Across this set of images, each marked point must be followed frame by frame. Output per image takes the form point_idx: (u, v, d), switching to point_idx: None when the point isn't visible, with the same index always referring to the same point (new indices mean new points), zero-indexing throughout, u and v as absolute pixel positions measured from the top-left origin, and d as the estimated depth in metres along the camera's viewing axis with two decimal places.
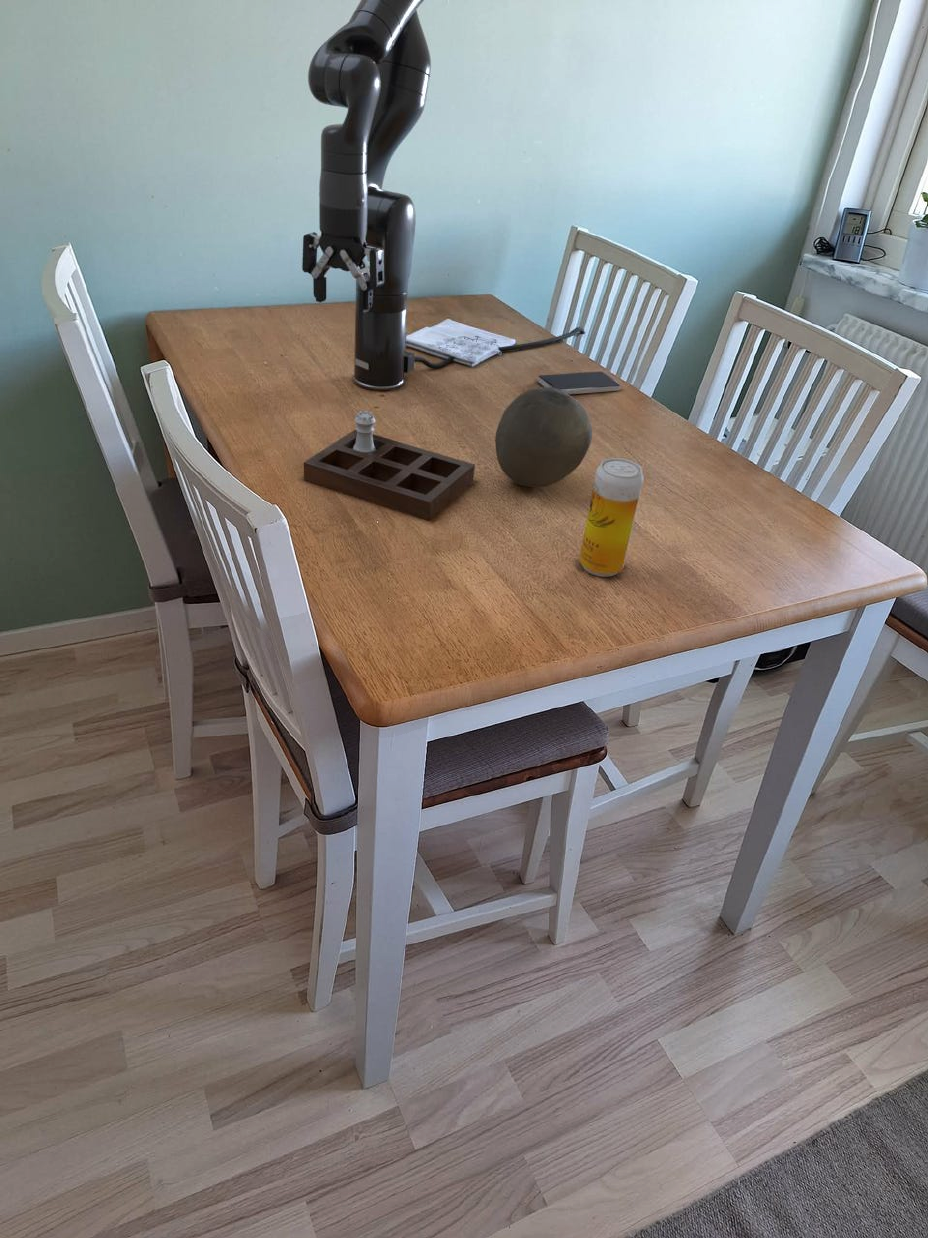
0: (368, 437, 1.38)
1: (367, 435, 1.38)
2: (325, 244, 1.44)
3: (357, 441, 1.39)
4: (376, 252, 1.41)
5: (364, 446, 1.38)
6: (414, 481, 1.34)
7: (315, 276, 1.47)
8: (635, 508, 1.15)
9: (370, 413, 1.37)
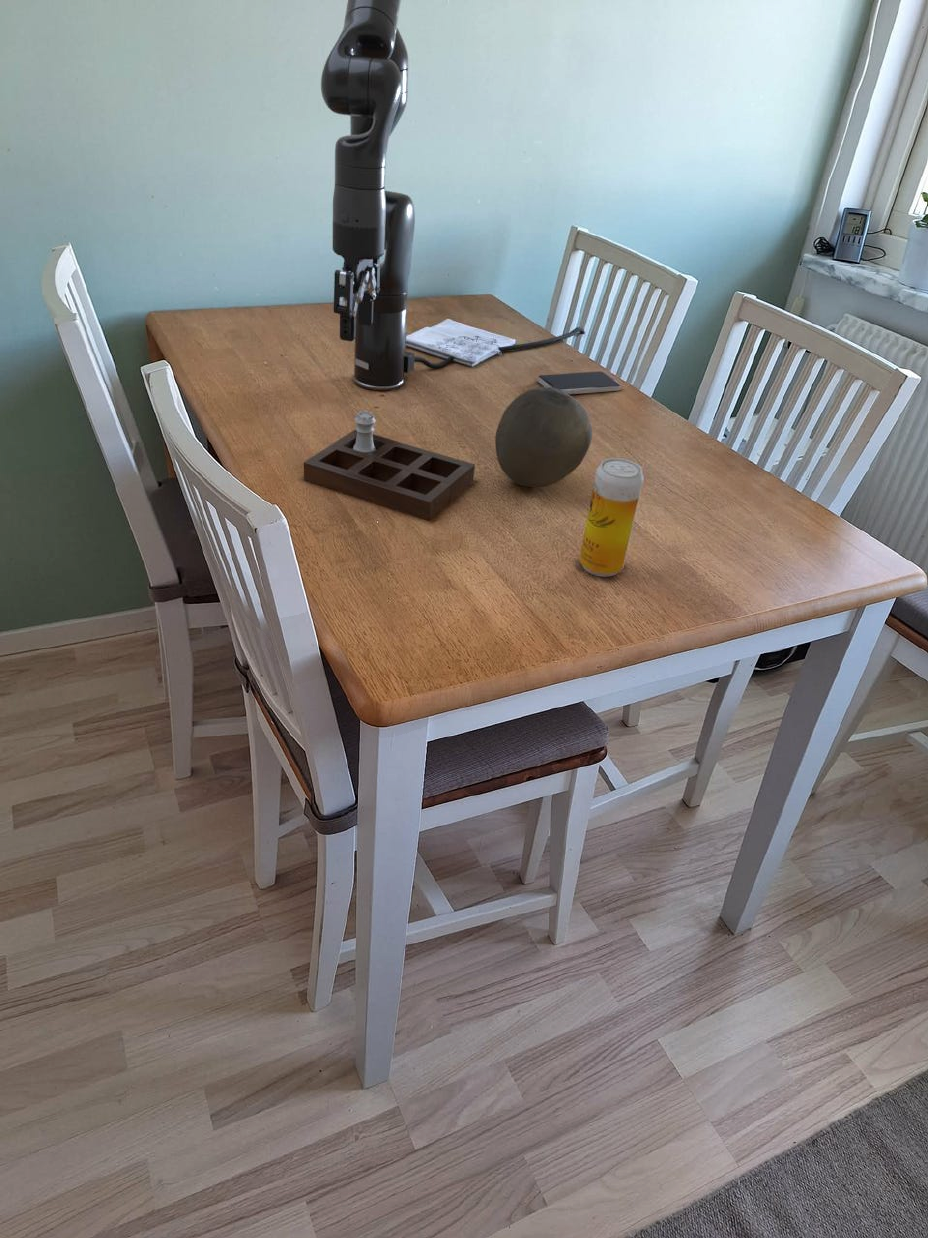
0: (368, 437, 1.38)
1: (368, 435, 1.38)
2: None
3: (357, 441, 1.39)
4: (336, 273, 1.26)
5: (364, 446, 1.38)
6: (414, 481, 1.34)
7: None
8: (635, 508, 1.15)
9: (370, 413, 1.37)
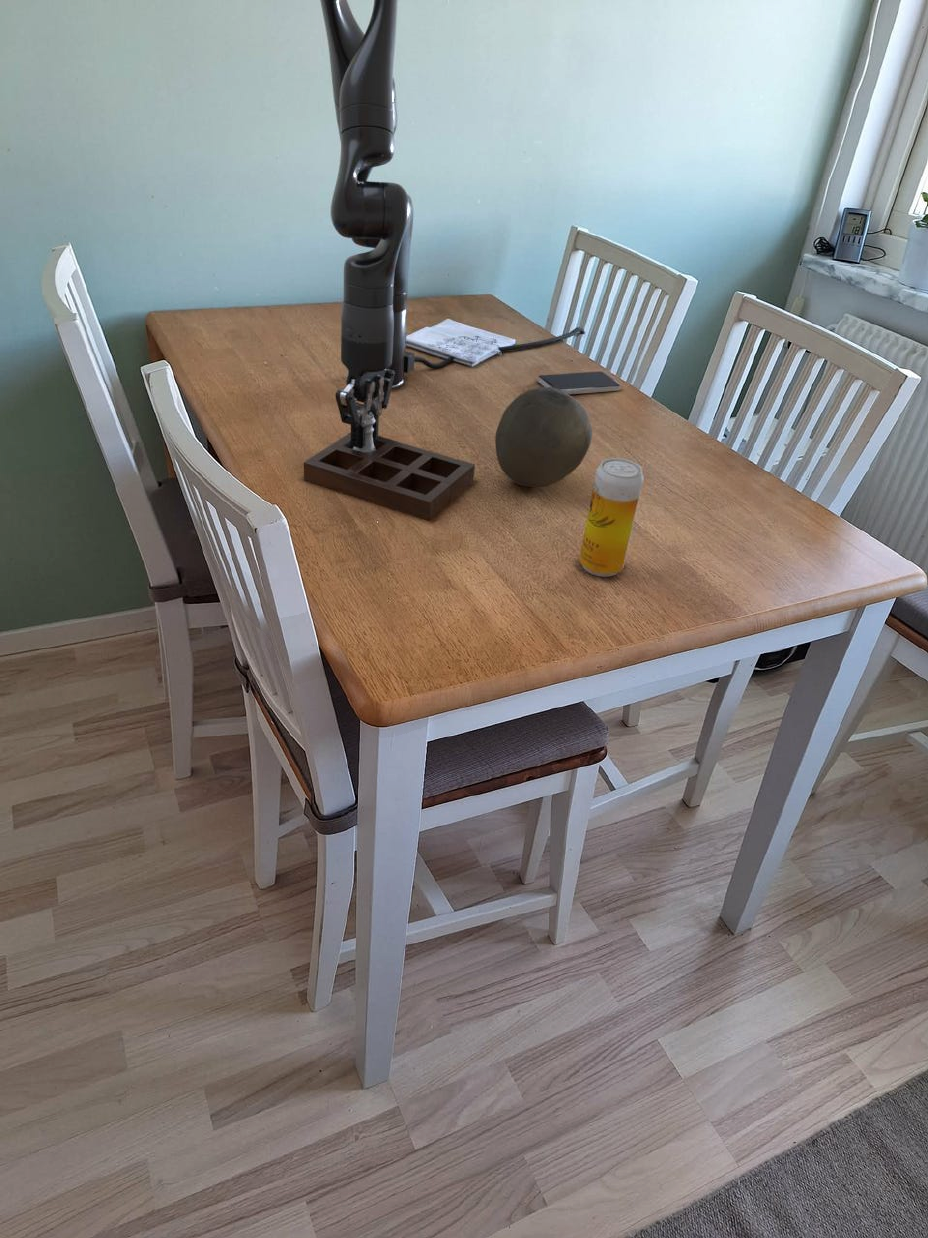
0: (368, 437, 1.38)
1: (367, 435, 1.38)
2: None
3: None
4: (336, 396, 1.29)
5: (364, 446, 1.38)
6: (414, 481, 1.34)
7: None
8: (635, 508, 1.15)
9: (370, 413, 1.37)
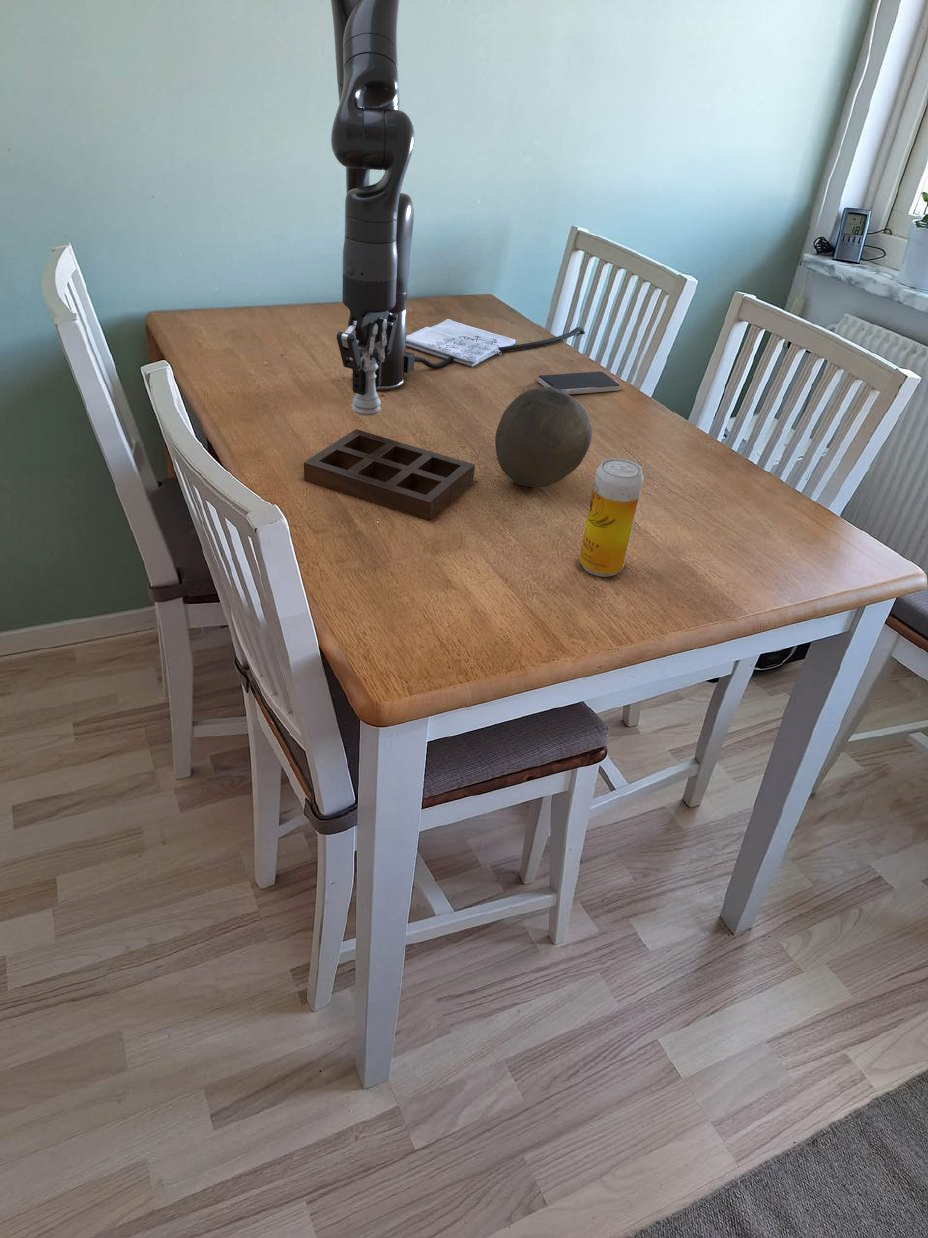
0: (371, 384, 1.33)
1: (370, 382, 1.33)
2: None
3: None
4: (338, 337, 1.24)
5: None
6: (414, 481, 1.34)
7: None
8: (635, 508, 1.15)
9: (373, 359, 1.32)
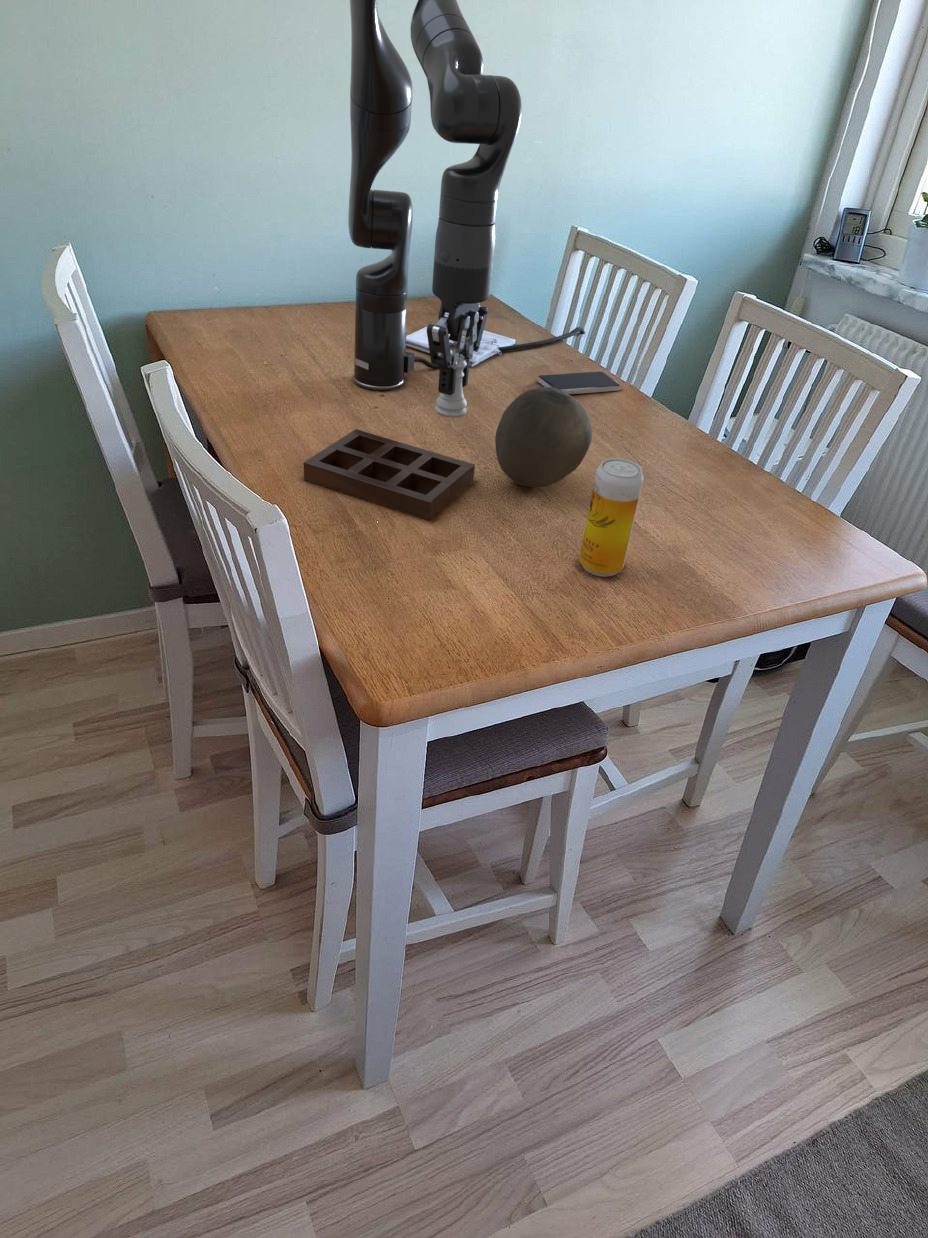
0: (458, 383, 1.21)
1: (457, 381, 1.21)
2: None
3: None
4: (428, 330, 1.13)
5: None
6: (414, 481, 1.34)
7: None
8: (635, 508, 1.15)
9: (461, 355, 1.21)
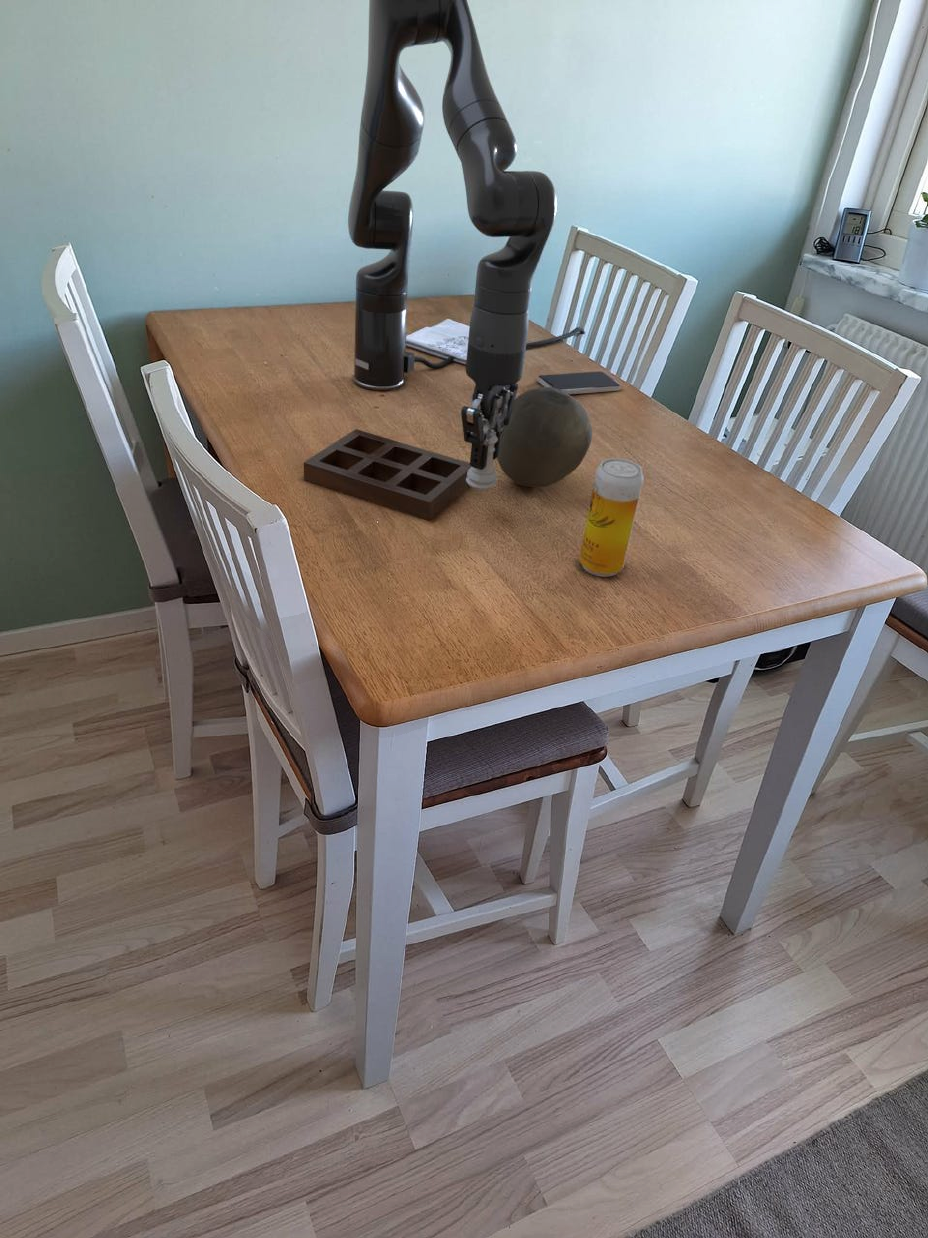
0: (489, 457, 1.24)
1: (489, 455, 1.24)
2: None
3: None
4: (462, 412, 1.15)
5: None
6: (414, 481, 1.34)
7: None
8: (635, 508, 1.15)
9: (492, 431, 1.23)
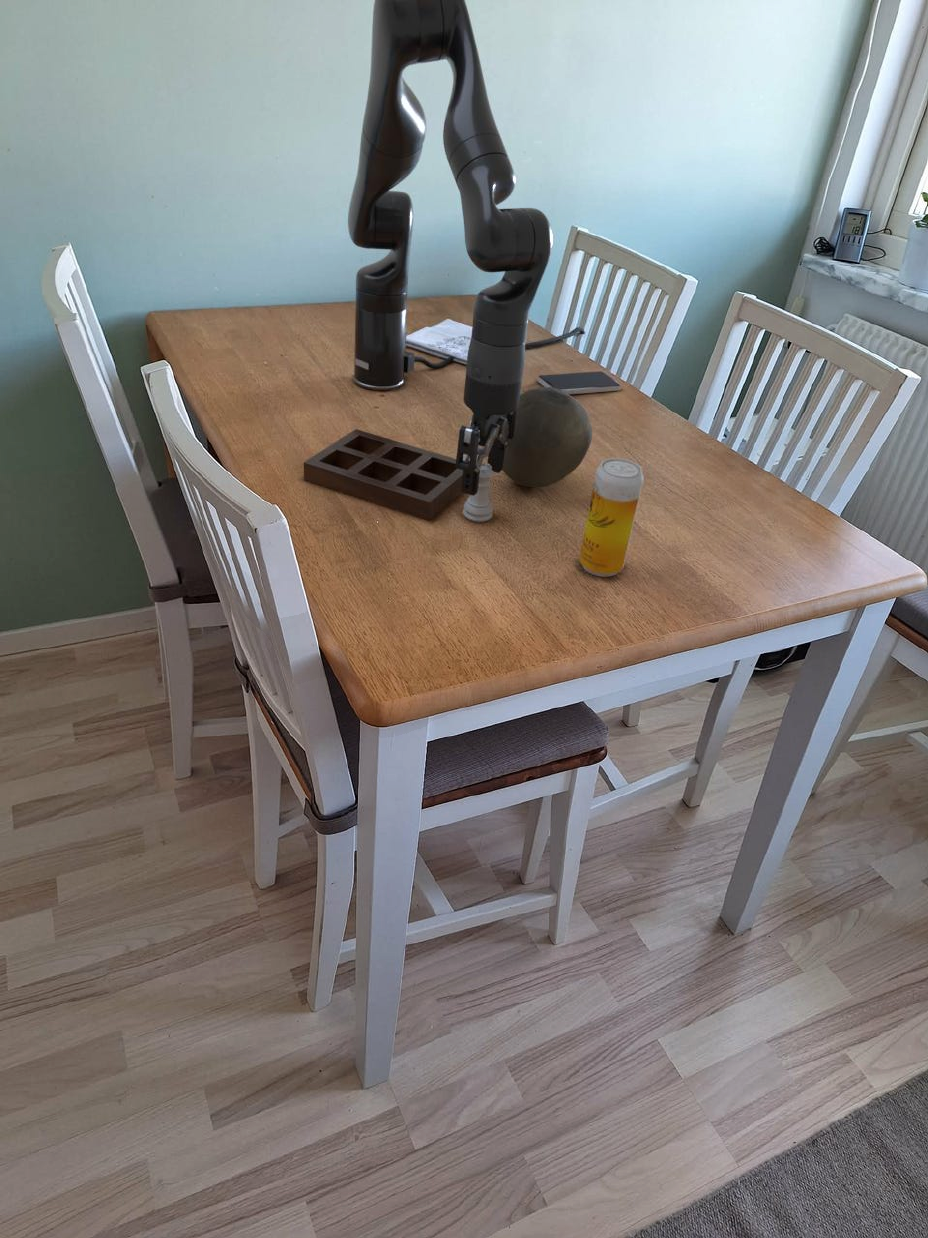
0: (485, 490, 1.27)
1: (485, 489, 1.27)
2: None
3: None
4: (461, 430, 1.17)
5: (480, 500, 1.27)
6: (414, 481, 1.34)
7: None
8: (635, 508, 1.15)
9: (488, 465, 1.26)
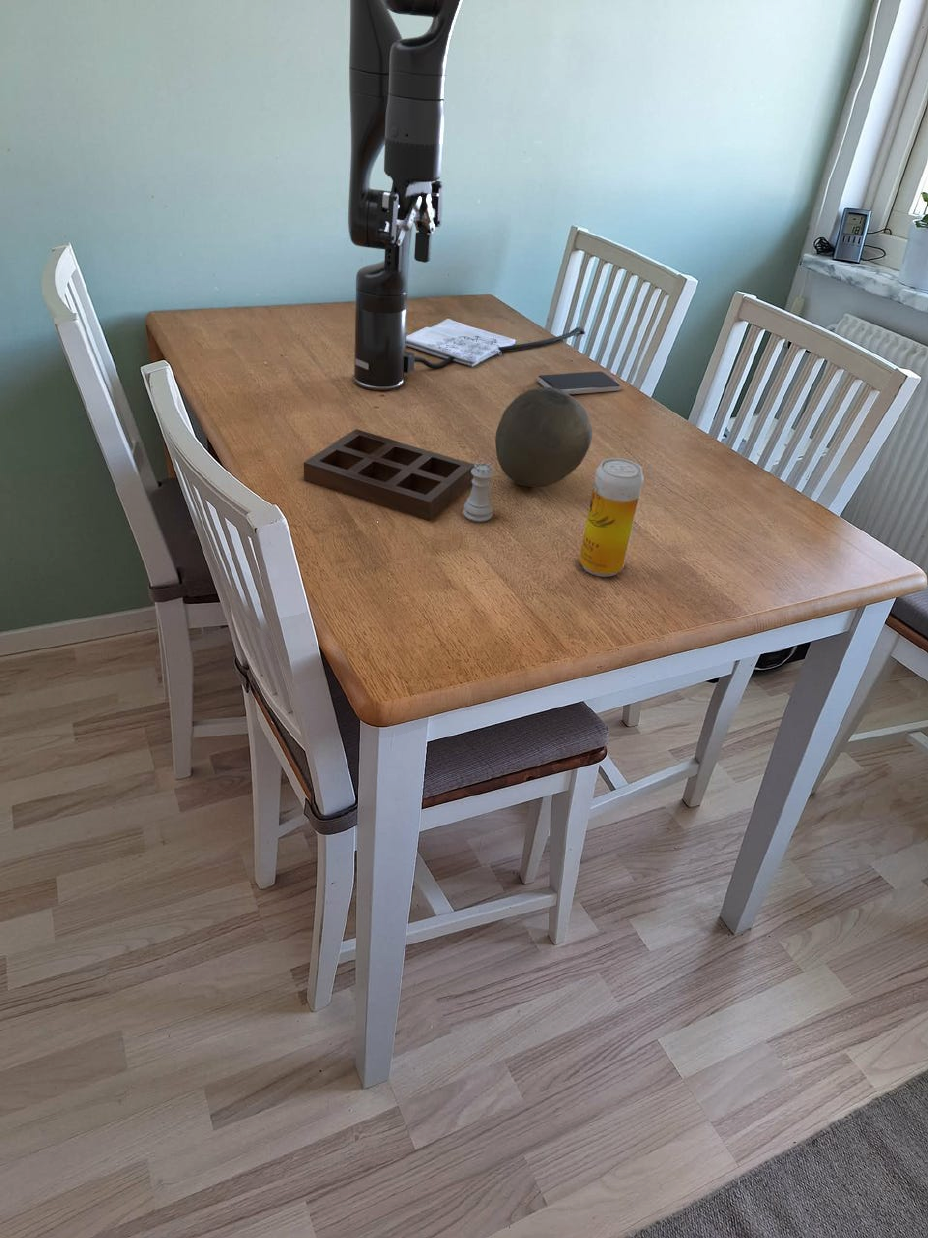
0: (485, 490, 1.27)
1: (485, 489, 1.27)
2: None
3: (472, 495, 1.28)
4: (379, 194, 1.14)
5: (480, 500, 1.27)
6: (414, 481, 1.34)
7: None
8: (635, 508, 1.15)
9: (488, 465, 1.26)
